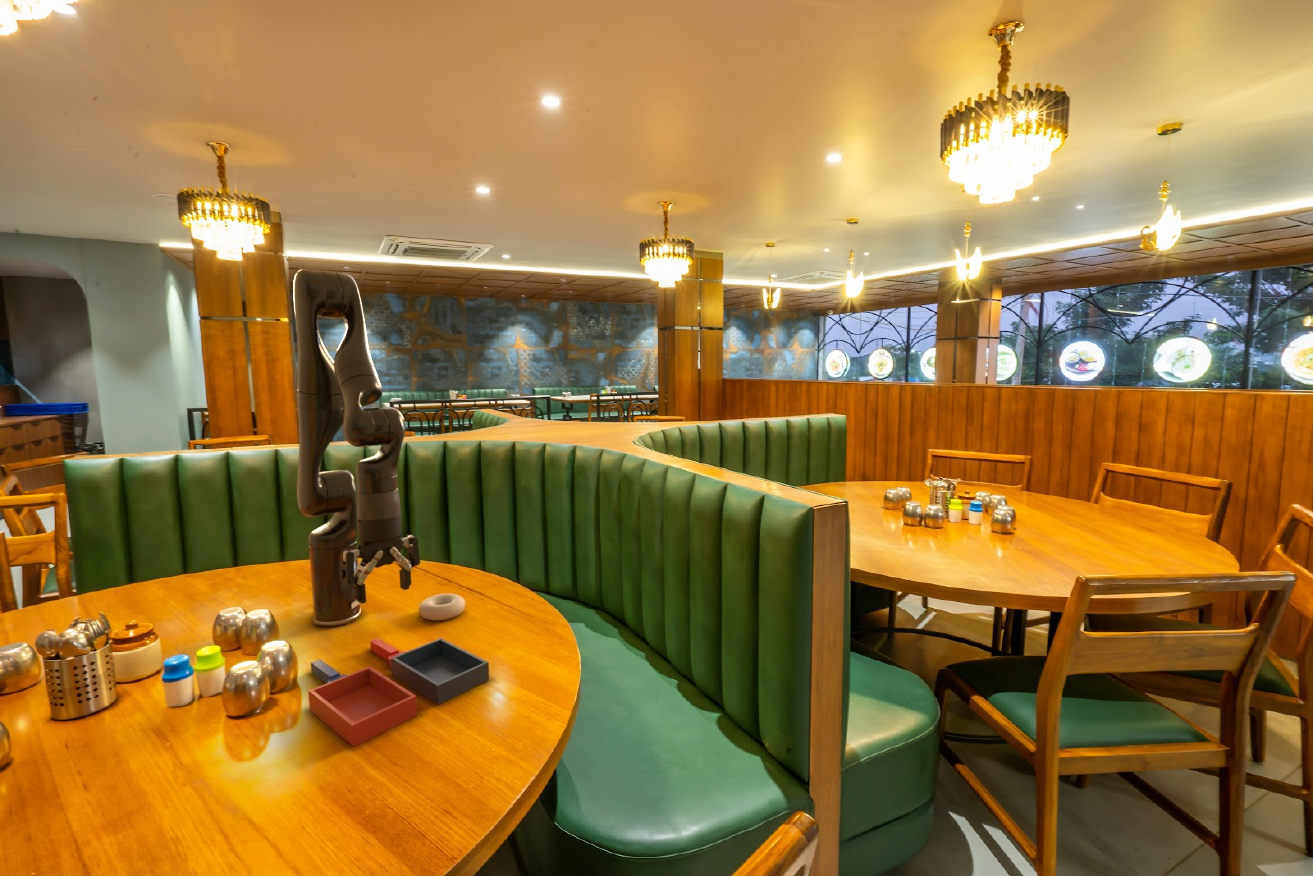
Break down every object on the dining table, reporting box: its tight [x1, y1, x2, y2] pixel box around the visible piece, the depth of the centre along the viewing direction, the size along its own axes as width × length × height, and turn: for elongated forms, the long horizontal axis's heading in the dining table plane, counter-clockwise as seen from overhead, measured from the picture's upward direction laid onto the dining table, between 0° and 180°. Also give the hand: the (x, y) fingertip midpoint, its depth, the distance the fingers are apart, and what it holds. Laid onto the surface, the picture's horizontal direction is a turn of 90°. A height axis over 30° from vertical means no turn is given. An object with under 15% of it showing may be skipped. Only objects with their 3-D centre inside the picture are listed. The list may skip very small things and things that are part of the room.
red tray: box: [307, 666, 418, 748], centre depth 97 cm, size 15×10×3 cm
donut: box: [418, 593, 466, 622], centre depth 135 cm, size 10×4×10 cm
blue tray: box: [390, 637, 490, 706], centre depth 108 cm, size 15×10×3 cm
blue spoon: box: [310, 659, 348, 684], centre depth 106 cm, size 11×4×2 cm, turn 52°
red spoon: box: [369, 638, 406, 669], centre depth 115 cm, size 11×4×2 cm, turn 52°
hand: (383, 595), depth 114 cm, fingers open, 8 cm apart
